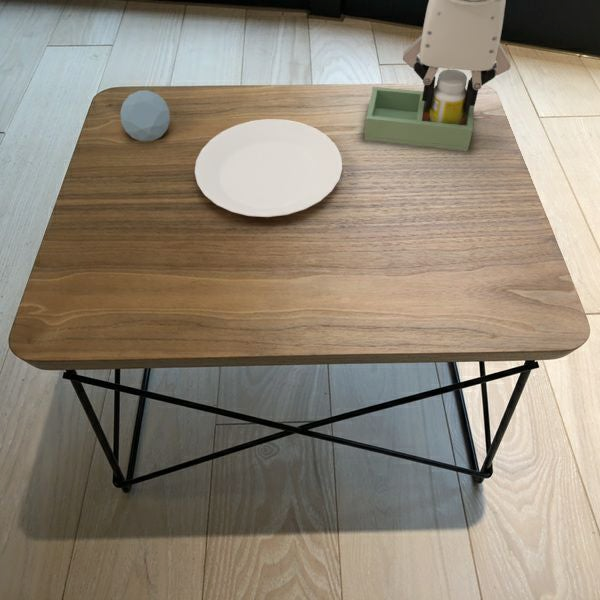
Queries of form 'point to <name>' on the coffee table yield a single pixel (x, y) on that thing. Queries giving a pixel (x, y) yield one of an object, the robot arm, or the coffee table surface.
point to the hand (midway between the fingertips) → (447, 105)
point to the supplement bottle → (448, 98)
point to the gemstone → (145, 116)
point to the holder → (412, 121)
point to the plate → (268, 167)
